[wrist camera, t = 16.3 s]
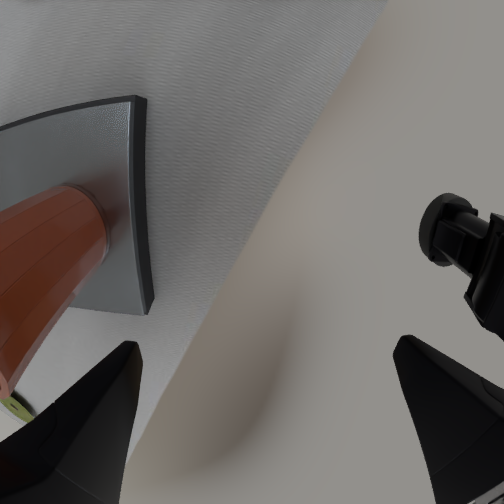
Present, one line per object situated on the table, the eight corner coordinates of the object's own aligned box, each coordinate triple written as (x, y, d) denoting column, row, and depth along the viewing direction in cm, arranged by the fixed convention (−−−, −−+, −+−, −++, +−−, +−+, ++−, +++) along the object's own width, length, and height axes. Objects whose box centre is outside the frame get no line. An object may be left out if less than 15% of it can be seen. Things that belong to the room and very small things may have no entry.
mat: (16, 410, 33) (13, 416, 32) (-12, 376, 29) (-15, 382, 27) (47, 423, 34) (45, 430, 32) (18, 388, 29) (14, 396, 27)
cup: (68, 164, 14) (-81, 228, 3) (125, 246, 17) (27, 387, 6) (21, 223, 15) (-84, 304, 4) (71, 291, 18) (-7, 405, 7)
